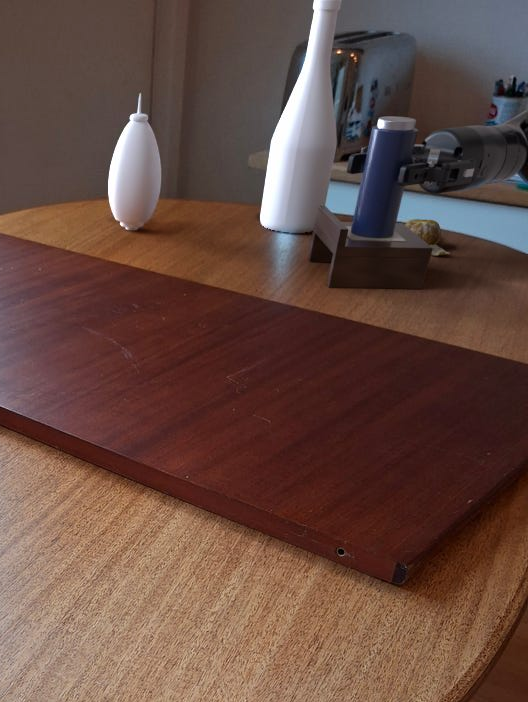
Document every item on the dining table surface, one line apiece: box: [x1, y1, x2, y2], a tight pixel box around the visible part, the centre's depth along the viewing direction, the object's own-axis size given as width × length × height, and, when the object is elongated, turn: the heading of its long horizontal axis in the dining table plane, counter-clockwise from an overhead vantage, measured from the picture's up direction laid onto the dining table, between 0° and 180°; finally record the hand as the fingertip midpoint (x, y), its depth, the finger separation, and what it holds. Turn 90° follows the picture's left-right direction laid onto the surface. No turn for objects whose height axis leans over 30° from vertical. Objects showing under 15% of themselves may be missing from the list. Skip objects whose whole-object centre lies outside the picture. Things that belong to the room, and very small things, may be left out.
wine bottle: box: [259, 0, 343, 234], centre depth 128 cm, size 10×10×30 cm
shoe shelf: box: [307, 205, 433, 290], centre depth 116 cm, size 12×13×7 cm
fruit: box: [404, 218, 451, 256], centre depth 127 cm, size 8×8×4 cm
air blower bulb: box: [107, 92, 162, 231], centre depth 130 cm, size 8×8×18 cm
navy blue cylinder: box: [351, 115, 419, 238], centre depth 111 cm, size 5×5×13 cm
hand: (375, 170), depth 109 cm, fingers open, 8 cm apart
